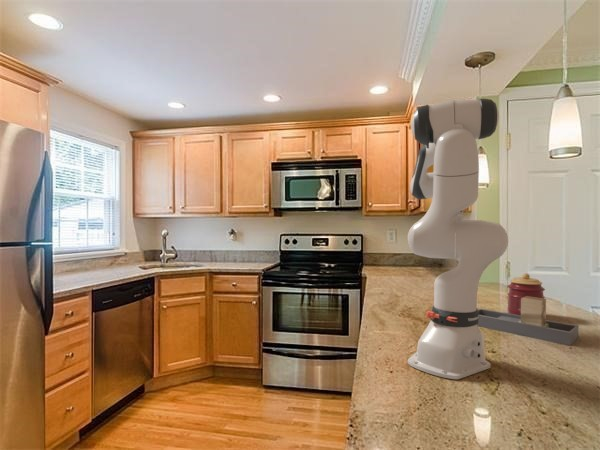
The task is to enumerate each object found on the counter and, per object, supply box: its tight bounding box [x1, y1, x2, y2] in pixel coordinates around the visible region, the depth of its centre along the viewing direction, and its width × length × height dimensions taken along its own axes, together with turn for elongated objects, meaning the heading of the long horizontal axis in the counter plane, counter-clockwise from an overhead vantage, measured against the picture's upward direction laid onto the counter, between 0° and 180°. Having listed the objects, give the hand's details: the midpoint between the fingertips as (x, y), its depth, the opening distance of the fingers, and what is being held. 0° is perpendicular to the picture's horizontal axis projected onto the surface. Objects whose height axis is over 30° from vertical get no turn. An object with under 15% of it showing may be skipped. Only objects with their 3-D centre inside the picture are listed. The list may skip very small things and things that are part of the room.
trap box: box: [477, 307, 580, 346], centre depth 125 cm, size 12×32×4 cm, turn 42°
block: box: [521, 296, 547, 326], centre depth 122 cm, size 6×6×9 cm
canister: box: [507, 272, 546, 315], centre depth 145 cm, size 13×13×18 cm
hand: (448, 243), depth 138 cm, fingers closed
